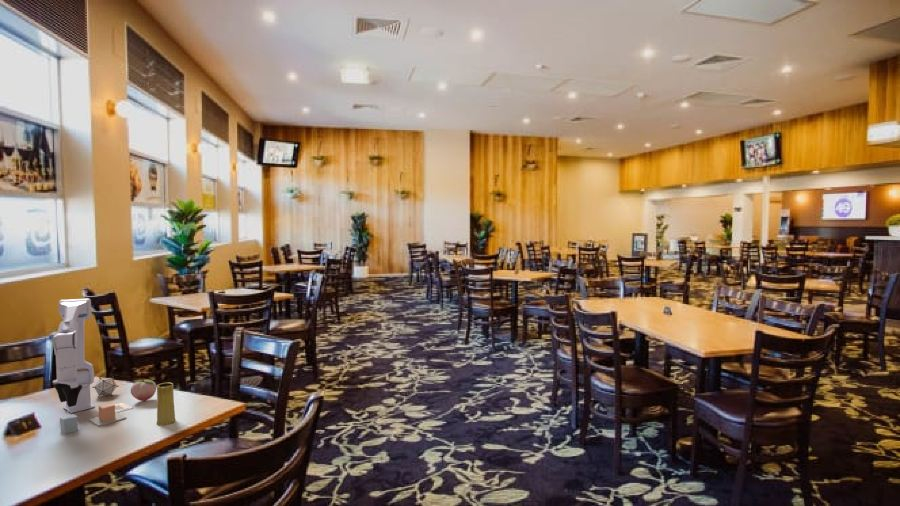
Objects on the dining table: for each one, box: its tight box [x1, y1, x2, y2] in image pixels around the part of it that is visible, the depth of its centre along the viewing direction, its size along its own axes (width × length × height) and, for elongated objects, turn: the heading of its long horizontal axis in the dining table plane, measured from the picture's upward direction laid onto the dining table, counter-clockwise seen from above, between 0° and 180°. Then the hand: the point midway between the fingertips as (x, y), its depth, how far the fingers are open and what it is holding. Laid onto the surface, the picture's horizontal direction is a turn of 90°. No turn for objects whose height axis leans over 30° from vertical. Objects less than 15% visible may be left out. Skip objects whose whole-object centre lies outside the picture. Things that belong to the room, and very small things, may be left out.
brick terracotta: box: [98, 402, 115, 421], centre depth 188 cm, size 4×4×5 cm
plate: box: [89, 412, 127, 427], centre depth 188 cm, size 9×9×1 cm
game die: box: [91, 375, 119, 398], centre depth 213 cm, size 9×8×10 cm
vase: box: [156, 382, 176, 426], centre depth 185 cm, size 6×6×14 cm
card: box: [113, 402, 133, 413], centre depth 199 cm, size 10×7×1 cm
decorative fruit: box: [130, 377, 157, 402], centre depth 207 cm, size 9×8×10 cm
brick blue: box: [59, 413, 79, 435], centre depth 178 cm, size 4×4×5 cm
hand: (68, 403), depth 178 cm, fingers open, 7 cm apart
